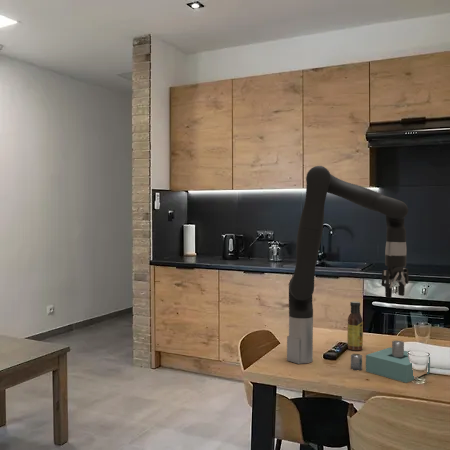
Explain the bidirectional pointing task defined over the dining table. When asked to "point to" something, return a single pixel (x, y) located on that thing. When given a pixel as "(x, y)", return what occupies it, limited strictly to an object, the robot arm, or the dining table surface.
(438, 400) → the dining table surface
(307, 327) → the robot arm
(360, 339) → the sauce bottle
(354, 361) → the short pin
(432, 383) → the dining table surface
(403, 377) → the hole block
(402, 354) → the long pin
